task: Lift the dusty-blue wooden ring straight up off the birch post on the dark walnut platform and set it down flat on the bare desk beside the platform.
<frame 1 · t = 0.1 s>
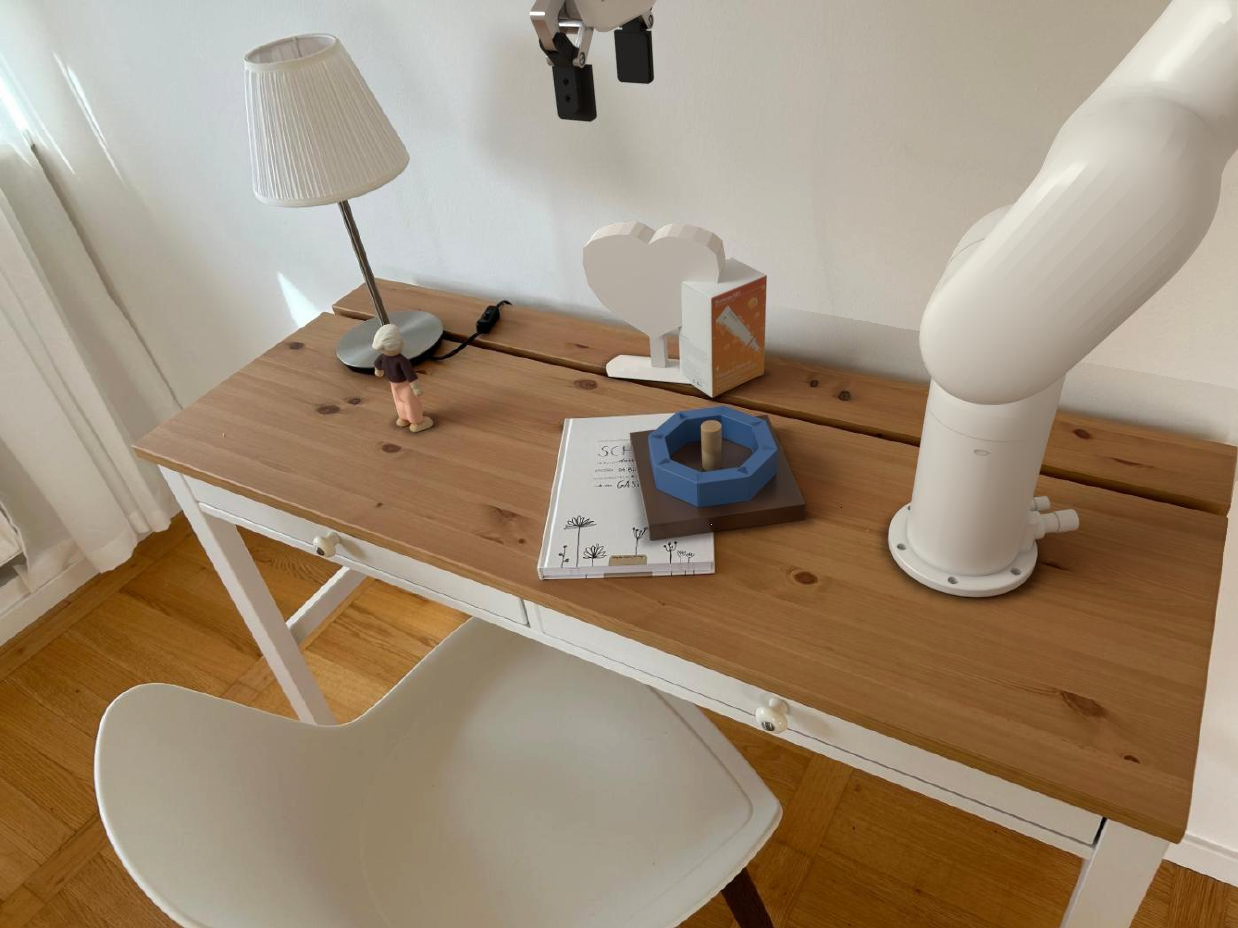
hand: (608, 100, 72), 37 cm above the table, tool pointing down, fingers open, 9 cm apart
grandmother figurine: (412, 422, 105), on the table
ring: (712, 466, 91), point 2 cm above the table, touching platform
small box: (722, 377, 107), on the table, touching heart sculpture
heart sculpture: (660, 370, 109), on the table, touching small box
platform: (712, 481, 92), on the table
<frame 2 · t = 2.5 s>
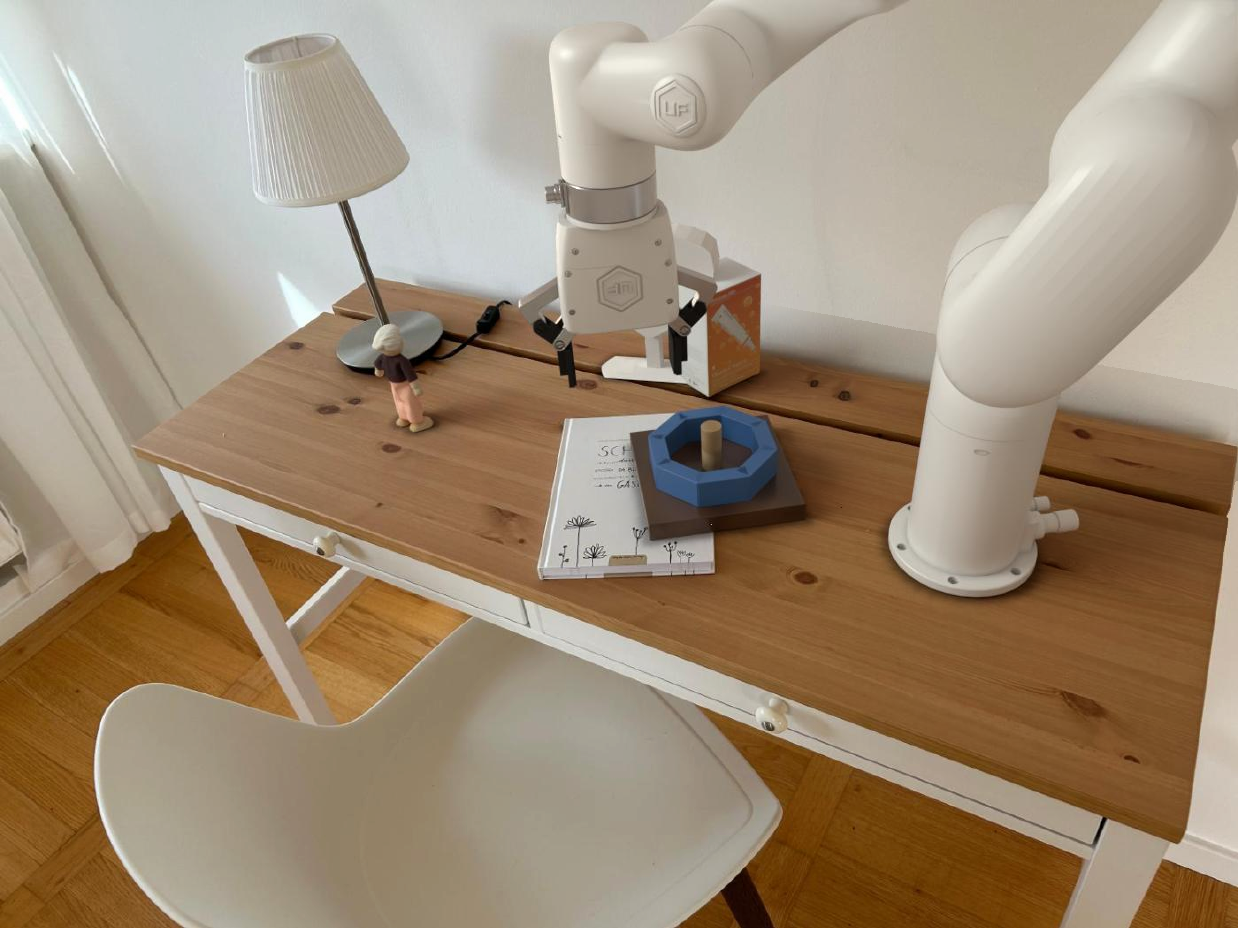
hand: (623, 373, 83), 14 cm above the table, tool pointing down, fingers open, 9 cm apart
small box: (718, 377, 107), on the table, touching heart sculpture
everything else where it was.
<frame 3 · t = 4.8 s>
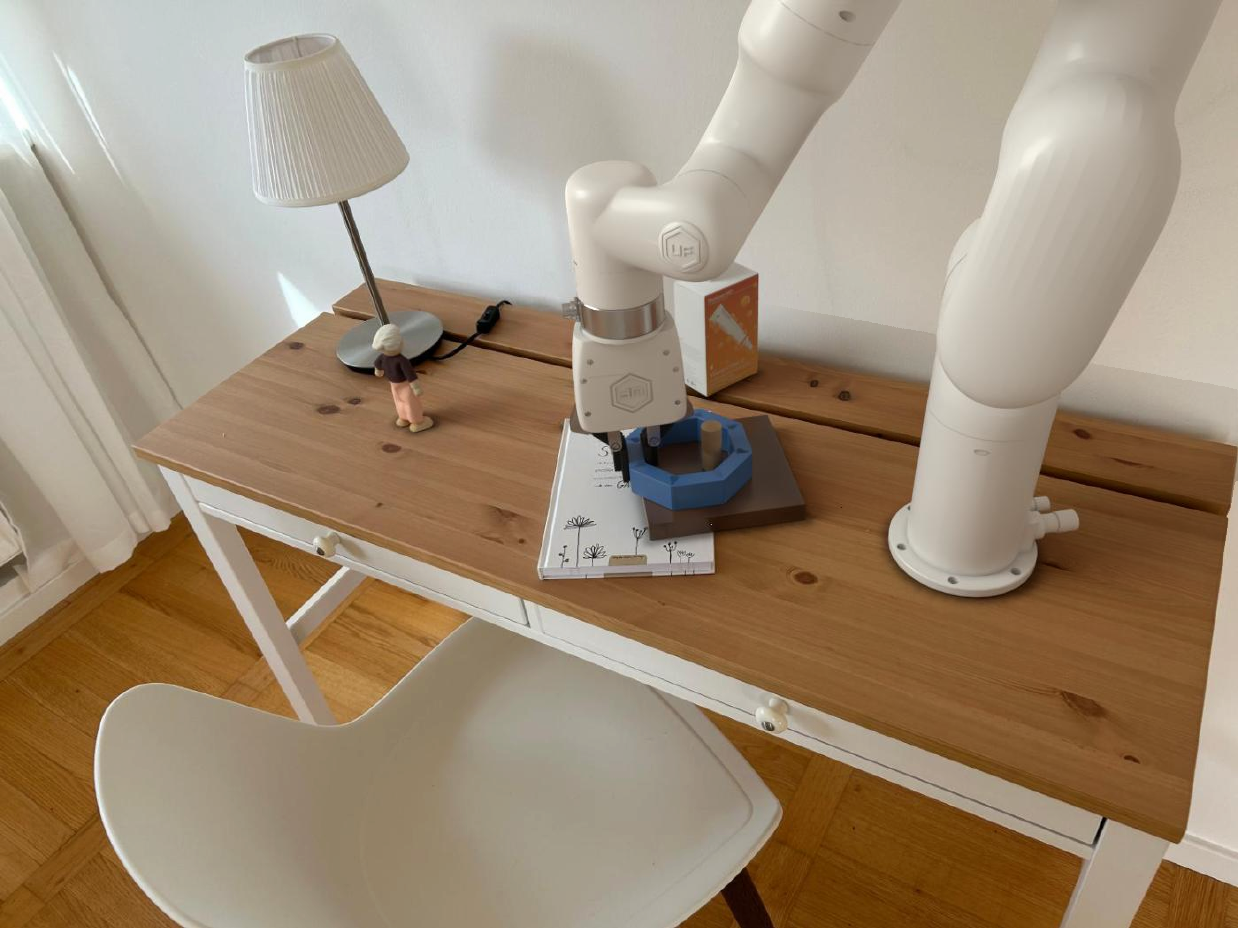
hand: (636, 471, 90), 3 cm above the table, tool pointing down, fingers closed on ring
ring: (688, 469, 90), point 2 cm above the table, touching gripper
everything else where it was.
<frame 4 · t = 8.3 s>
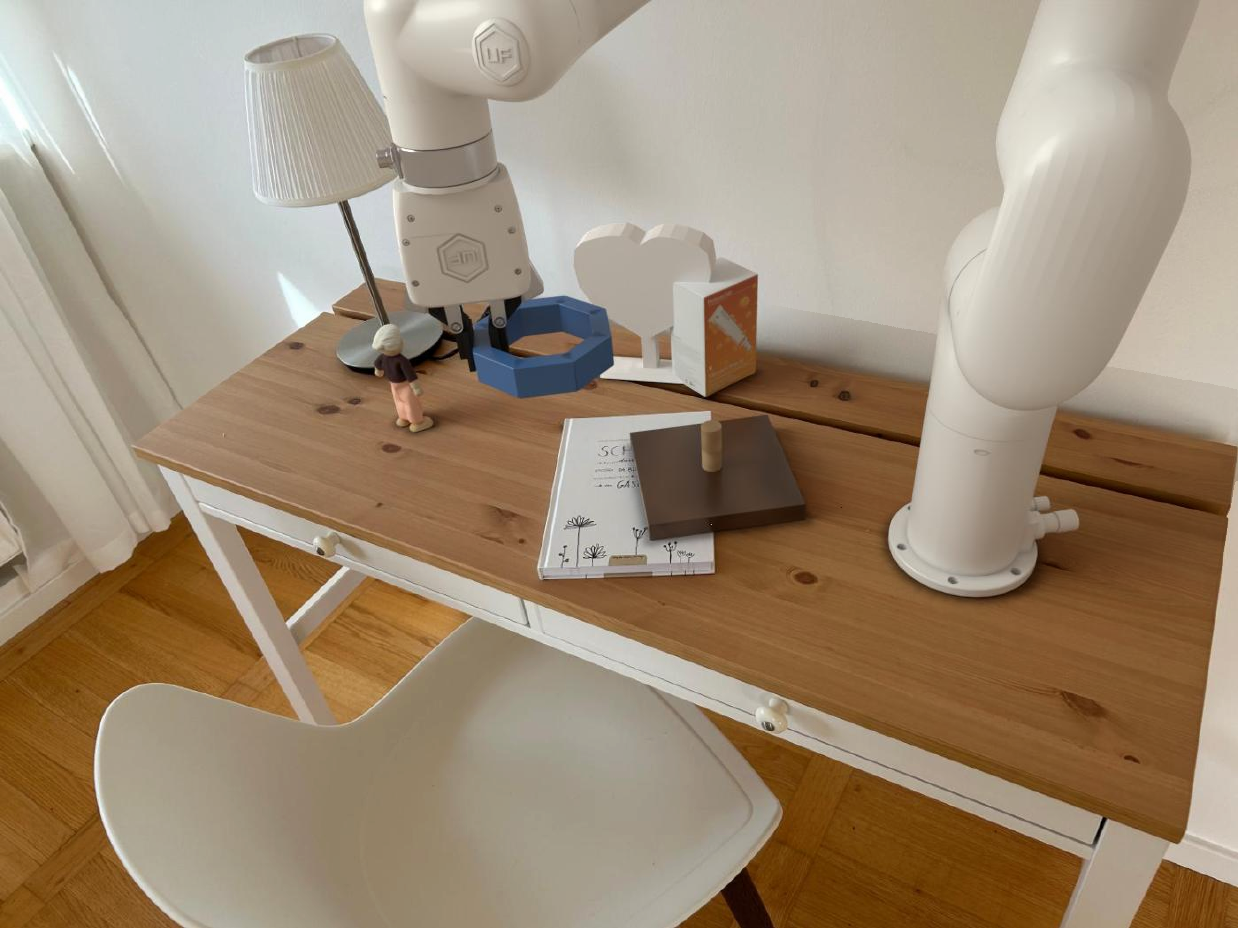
hand: (486, 361, 80), 17 cm above the table, tool pointing down, fingers closed on ring
ring: (545, 358, 81), point 17 cm above the table, touching gripper
everything else where it was.
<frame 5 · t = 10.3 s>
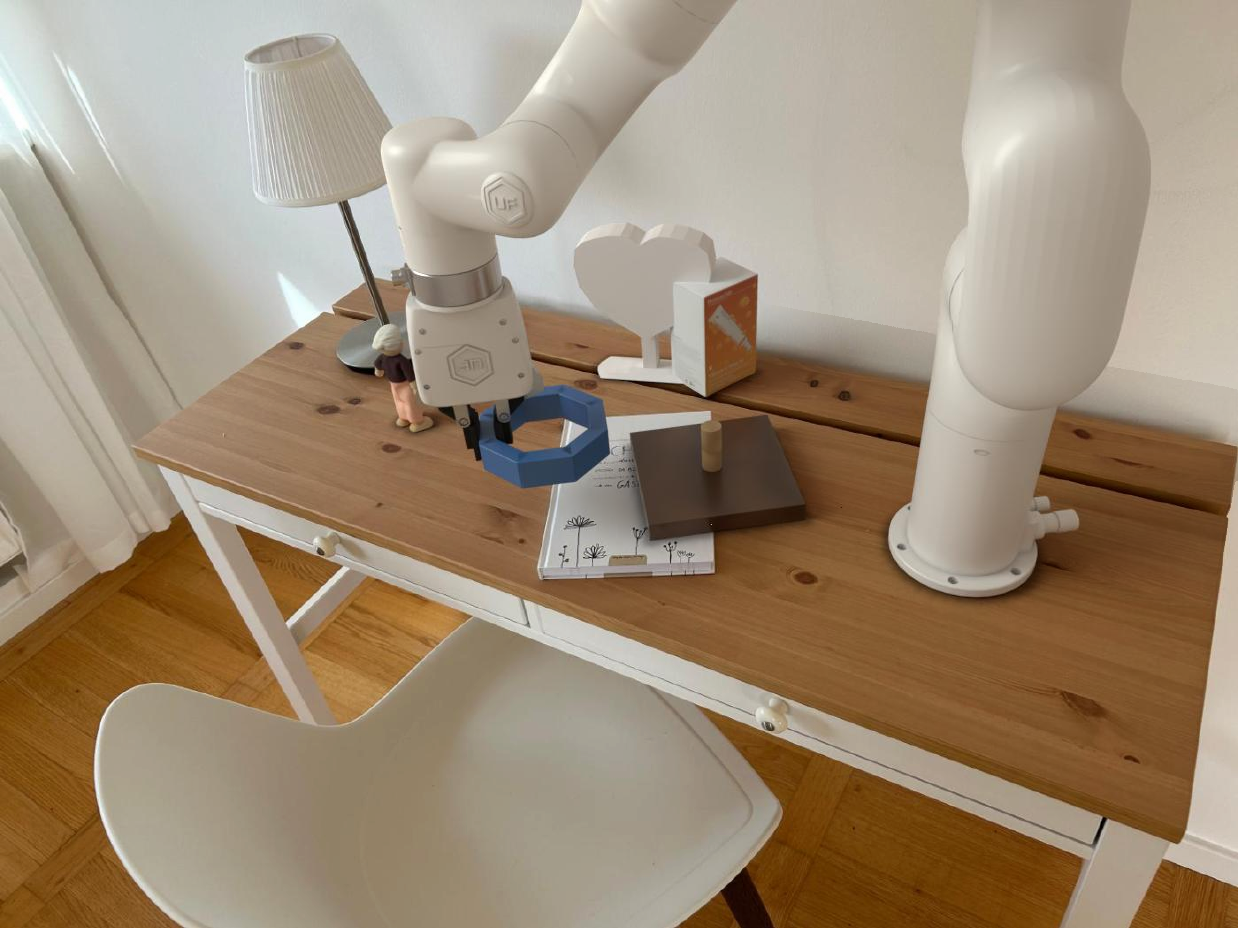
hand: (491, 449, 86), 8 cm above the table, tool pointing down, fingers closed on ring
ring: (546, 446, 87), point 7 cm above the table, touching gripper
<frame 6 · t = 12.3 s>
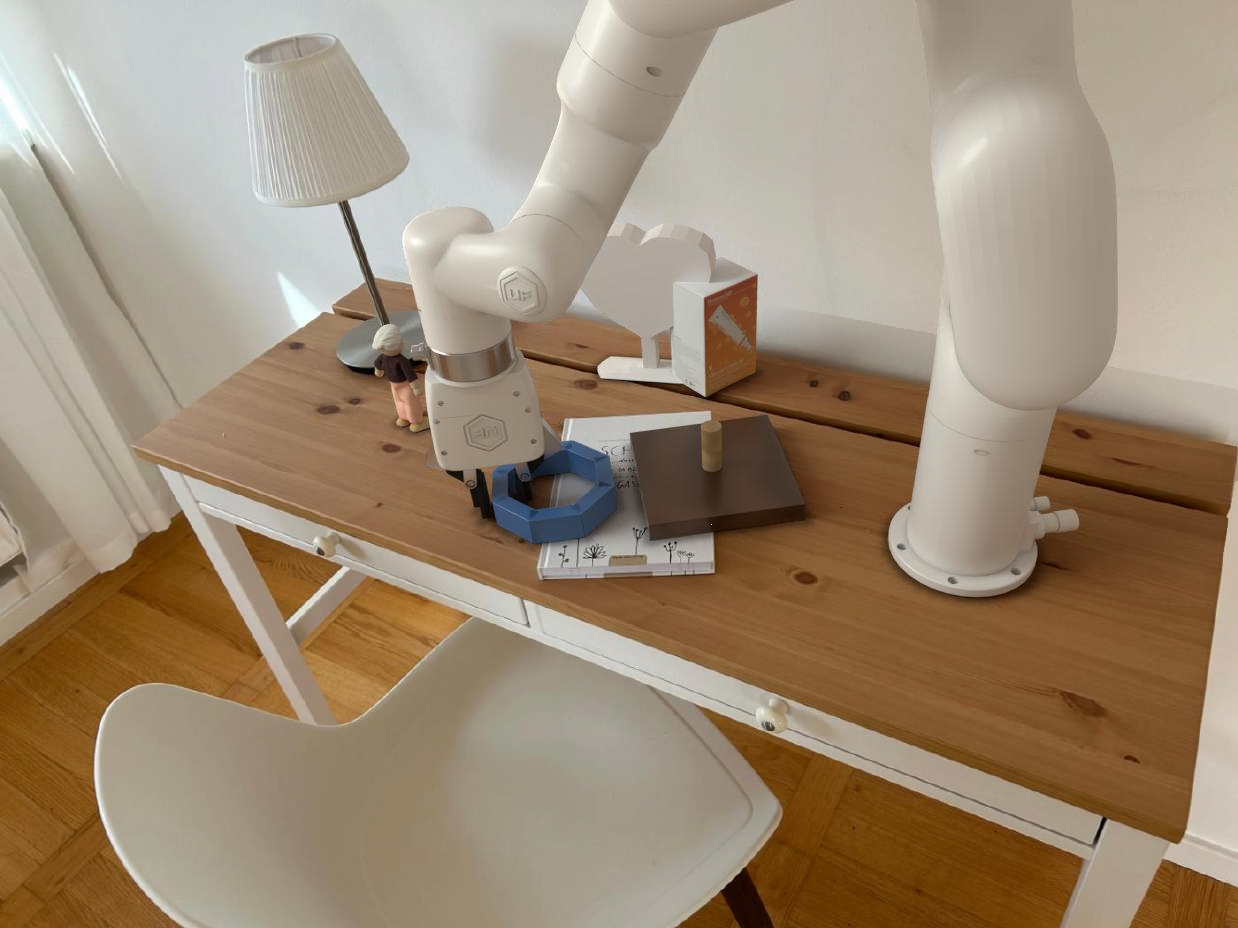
hand: (504, 505, 91), 0 cm above the table, tool pointing down, fingers open, 3 cm apart
ring: (555, 501, 91), on the table
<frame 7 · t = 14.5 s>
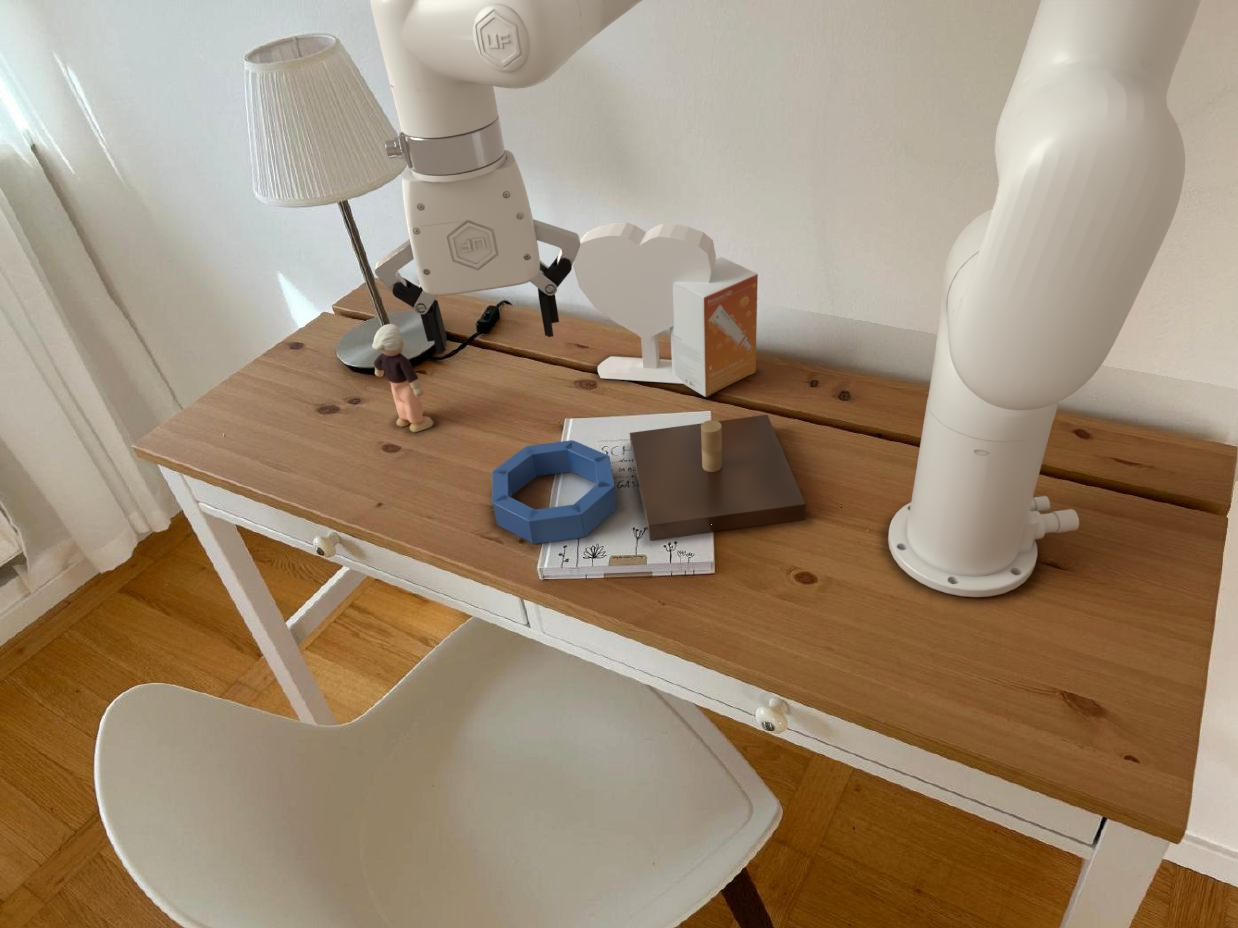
hand: (495, 337, 81), 19 cm above the table, tool pointing down, fingers open, 9 cm apart
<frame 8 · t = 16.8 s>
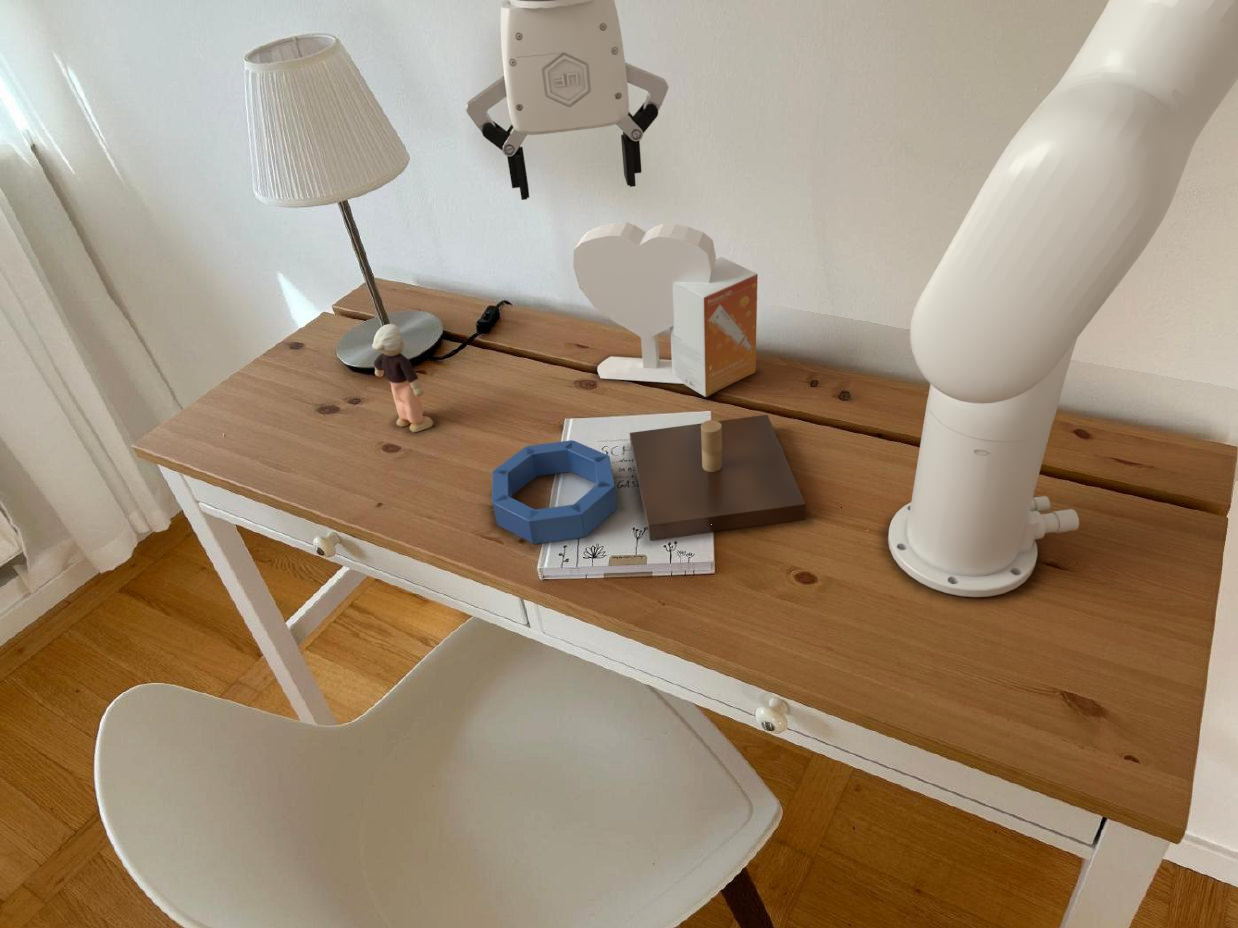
hand: (577, 187, 82), 28 cm above the table, tool pointing down, fingers open, 9 cm apart
at the end: ring inside the target area (0.2 cm from its centre), on the table; ring tilted 0° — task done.
